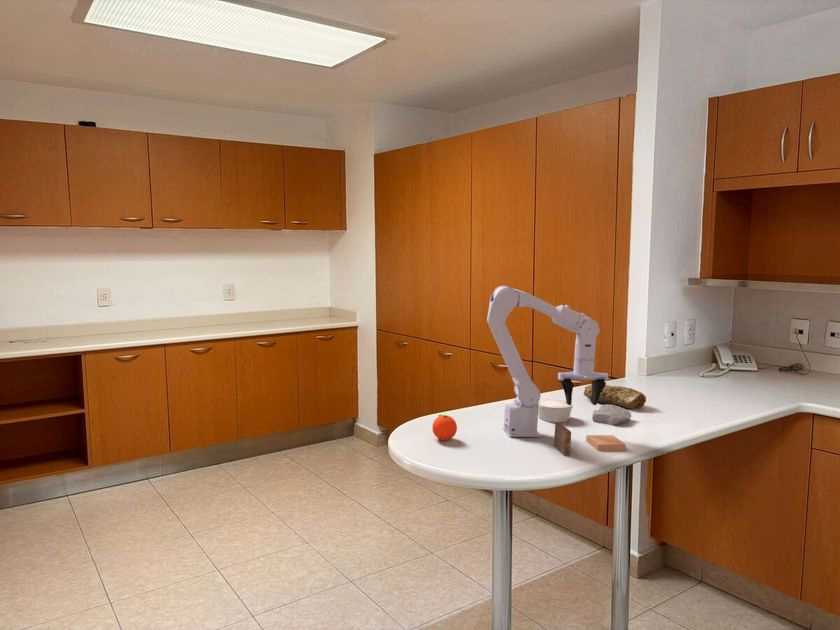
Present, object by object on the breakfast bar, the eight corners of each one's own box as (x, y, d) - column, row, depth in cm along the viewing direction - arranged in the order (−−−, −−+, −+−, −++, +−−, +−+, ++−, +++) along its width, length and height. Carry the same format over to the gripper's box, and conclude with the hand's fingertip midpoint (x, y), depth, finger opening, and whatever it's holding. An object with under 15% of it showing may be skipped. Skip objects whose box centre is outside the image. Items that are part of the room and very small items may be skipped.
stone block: (631, 425, 199) (602, 413, 204) (635, 412, 197) (606, 400, 203) (618, 434, 189) (588, 422, 195) (622, 420, 188) (592, 408, 194)
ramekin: (529, 418, 195) (530, 402, 194) (545, 412, 204) (546, 396, 203) (561, 426, 188) (562, 409, 187) (577, 419, 197) (578, 403, 196)
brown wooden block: (563, 455, 161) (565, 432, 161) (553, 445, 169) (555, 423, 168) (569, 455, 162) (571, 432, 161) (559, 445, 169) (560, 423, 169)
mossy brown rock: (647, 411, 215) (602, 387, 230) (650, 391, 212) (604, 369, 227) (622, 422, 208) (577, 397, 223) (625, 402, 205) (579, 378, 220)
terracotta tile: (597, 444, 166) (625, 444, 167) (586, 435, 174) (612, 435, 175) (597, 452, 166) (625, 452, 167) (585, 442, 174) (612, 442, 175)
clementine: (426, 435, 174) (427, 411, 173) (447, 433, 176) (449, 409, 176) (438, 444, 166) (439, 419, 166) (460, 442, 169) (461, 417, 168)
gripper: (565, 360, 172) (562, 407, 173) (614, 361, 174) (610, 408, 175) (556, 356, 179) (553, 401, 180) (603, 356, 180) (600, 401, 182)
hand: (581, 404), depth 178 cm, fingers open, 7 cm apart
